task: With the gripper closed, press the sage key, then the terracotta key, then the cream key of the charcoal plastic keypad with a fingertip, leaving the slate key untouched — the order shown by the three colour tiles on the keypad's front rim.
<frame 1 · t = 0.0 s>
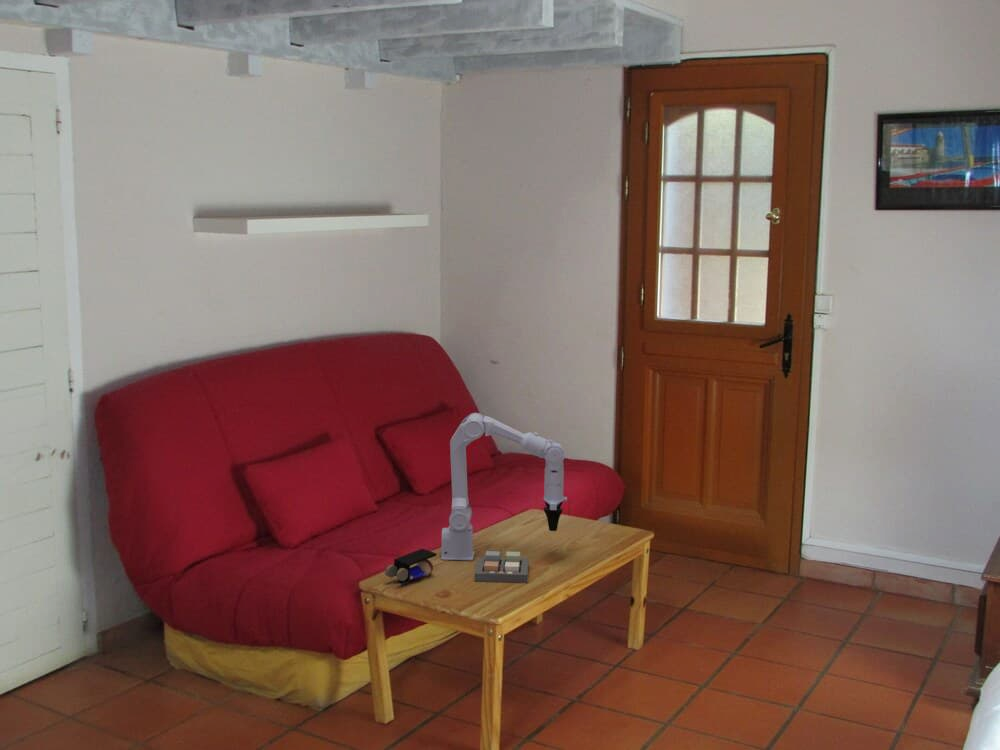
hand: (553, 526, 346), 10 cm above the table, fingers open, 7 cm apart
key terracotta: (491, 567, 331), point 3 cm above the table, slide at 0.0 cm
key slate: (492, 558, 336), point 4 cm above the table, slide at 0.0 cm
key cream: (512, 567, 330), point 3 cm above the table, slide at 0.0 cm
keypad bezel: (502, 573, 334), on the table
key sage: (513, 559, 336), point 4 cm above the table, slide at 0.0 cm
black toy vehicle: (411, 580, 328), on the table
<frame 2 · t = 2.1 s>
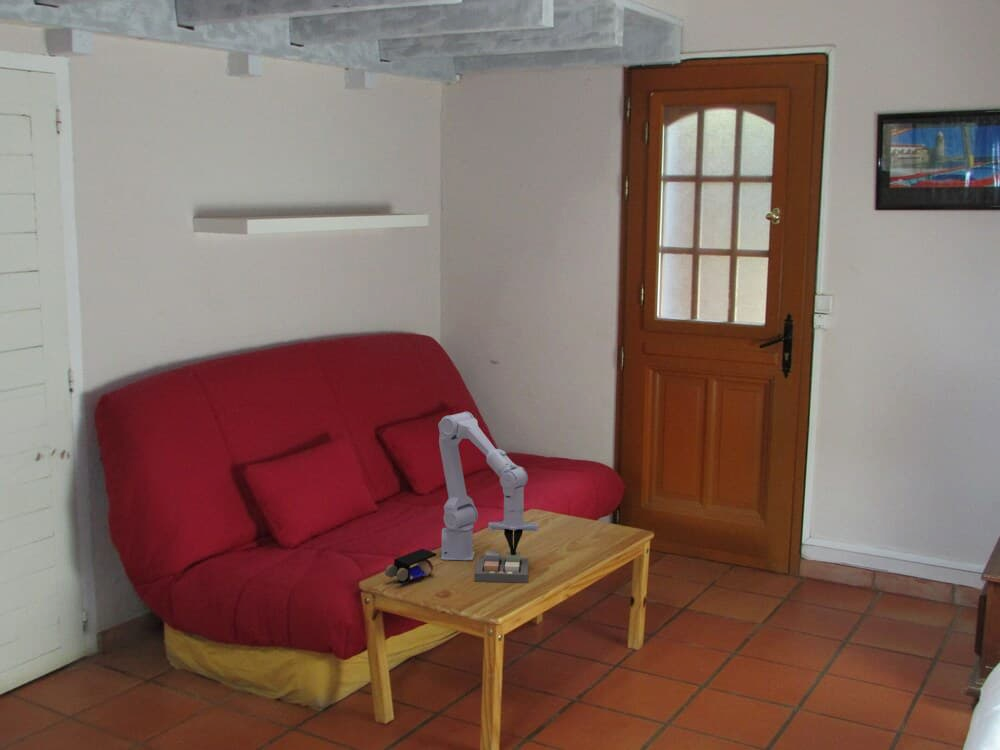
hand: (513, 554, 336), 5 cm above the table, fingers closed, pressing on key sage
key sage: (513, 559, 336), point 3 cm above the table, slide at 0.0 cm, touching gripper
everything else where it was.
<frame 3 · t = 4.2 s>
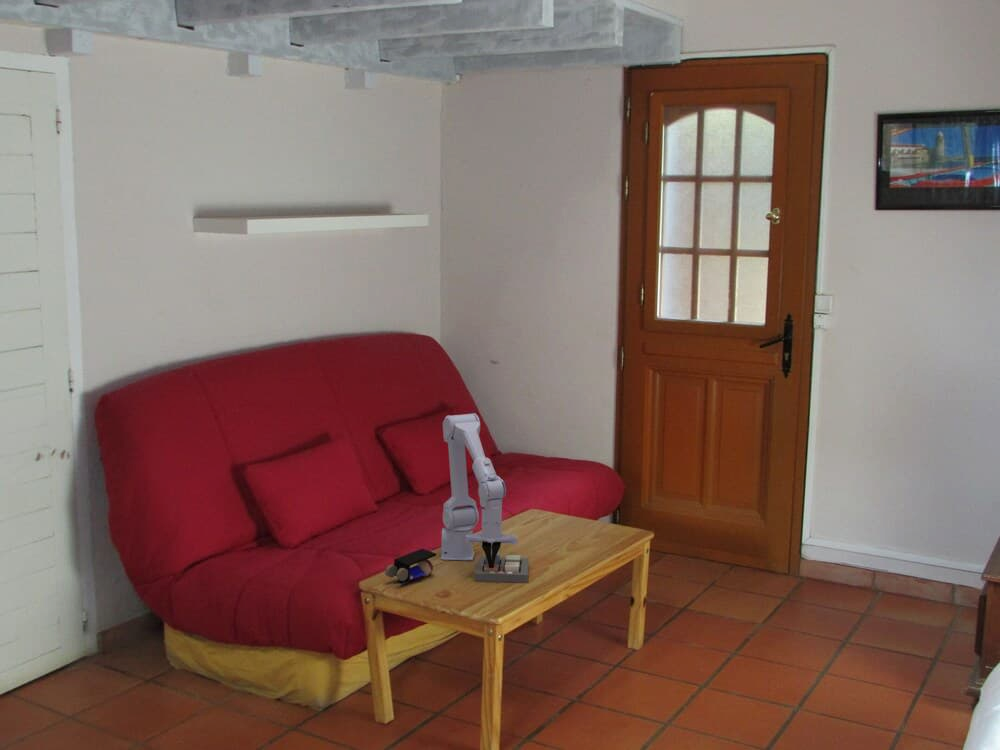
hand: (491, 566, 331), 3 cm above the table, fingers closed, pressing on key terracotta
key terracotta: (491, 570, 331), point 2 cm above the table, slide at 0.9 cm, touching gripper
key sage: (513, 562, 336), point 2 cm above the table, slide at 1.1 cm
everything else where it was.
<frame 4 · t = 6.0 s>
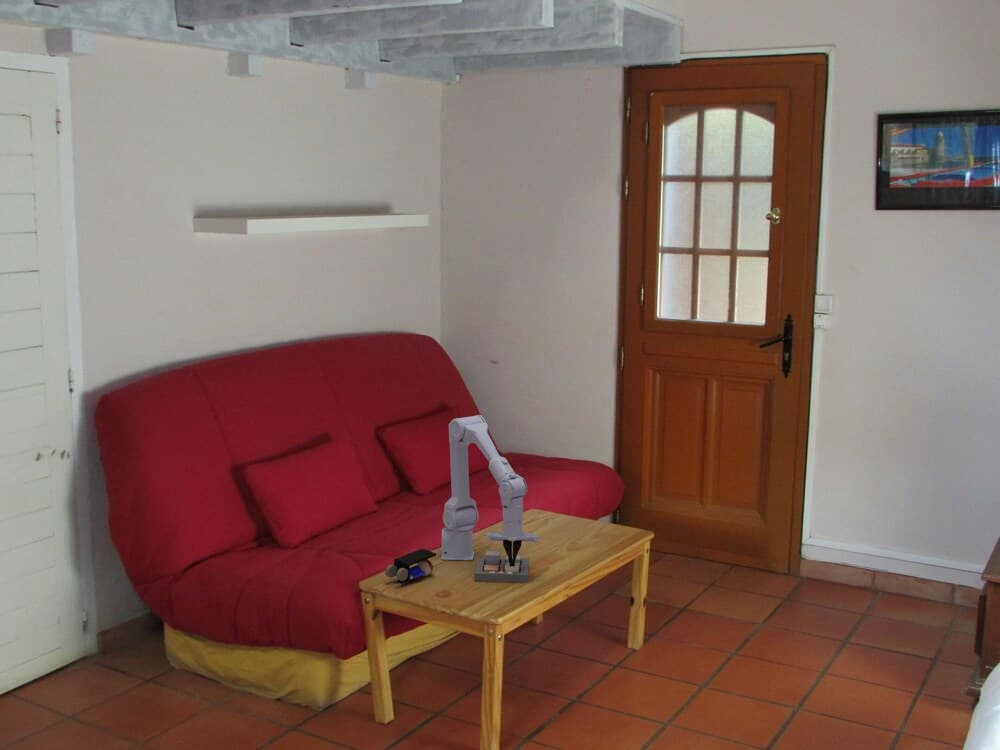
hand: (512, 565, 330), 4 cm above the table, fingers closed, pressing on key cream
key terracotta: (491, 570, 331), point 2 cm above the table, slide at 1.1 cm
key cream: (512, 568, 330), point 3 cm above the table, slide at 0.3 cm, touching gripper
everything else where it was.
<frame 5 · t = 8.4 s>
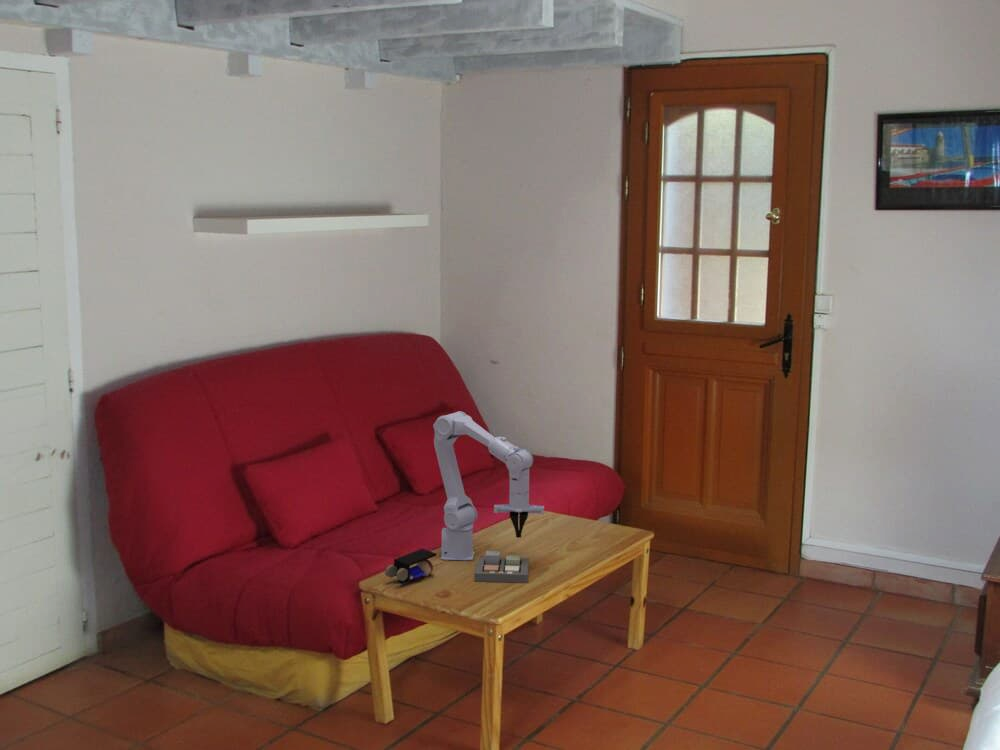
hand: (518, 536, 337), 10 cm above the table, fingers closed
key cream: (512, 571, 331), point 2 cm above the table, slide at 1.1 cm
everything else where it was.
at the end: key sage slide at 1.1 cm; key terracotta slide at 1.1 cm; key cream slide at 1.1 cm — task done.
